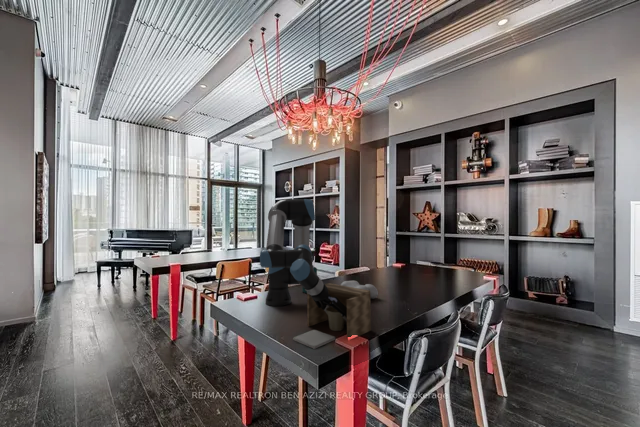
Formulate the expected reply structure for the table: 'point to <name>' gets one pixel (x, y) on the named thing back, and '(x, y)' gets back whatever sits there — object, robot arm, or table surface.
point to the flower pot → (335, 319)
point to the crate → (355, 304)
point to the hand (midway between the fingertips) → (341, 318)
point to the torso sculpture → (362, 287)
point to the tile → (314, 338)
